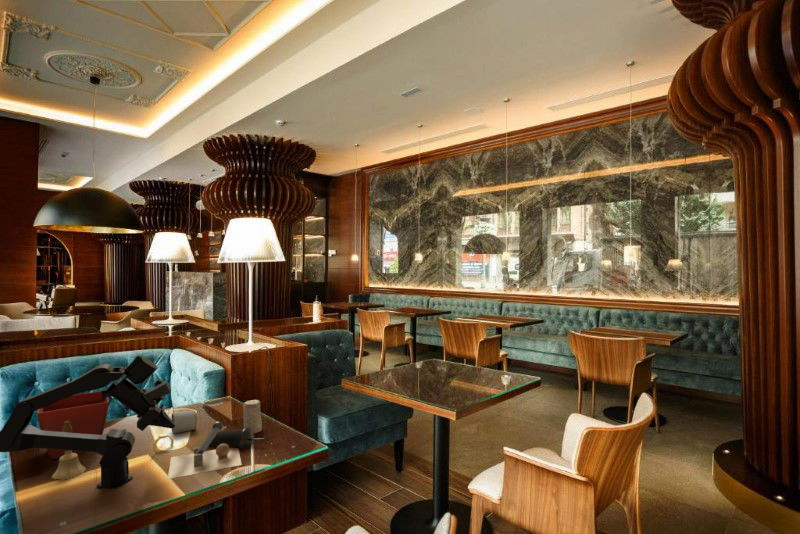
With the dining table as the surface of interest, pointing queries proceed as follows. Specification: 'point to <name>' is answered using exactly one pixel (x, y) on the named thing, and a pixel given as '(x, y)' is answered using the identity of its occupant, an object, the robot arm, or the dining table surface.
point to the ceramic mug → (184, 421)
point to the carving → (252, 415)
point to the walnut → (222, 451)
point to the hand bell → (68, 461)
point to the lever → (209, 437)
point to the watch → (160, 438)
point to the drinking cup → (235, 438)
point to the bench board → (202, 462)
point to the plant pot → (75, 416)
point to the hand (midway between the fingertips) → (174, 426)
